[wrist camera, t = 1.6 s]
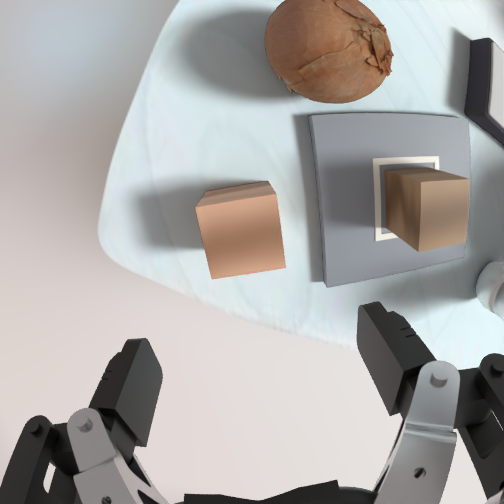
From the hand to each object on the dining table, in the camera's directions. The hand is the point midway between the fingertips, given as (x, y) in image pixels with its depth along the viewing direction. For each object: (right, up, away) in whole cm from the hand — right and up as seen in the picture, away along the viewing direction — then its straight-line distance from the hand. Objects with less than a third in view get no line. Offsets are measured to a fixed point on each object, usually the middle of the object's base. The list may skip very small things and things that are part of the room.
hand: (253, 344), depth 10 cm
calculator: (+32, +22, +11) cm, 40 cm away
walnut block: (+15, +9, +14) cm, 22 cm away
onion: (+5, +20, +10) cm, 23 cm away
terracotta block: (-1, +7, +15) cm, 17 cm away
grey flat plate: (+15, +9, +15) cm, 23 cm away
